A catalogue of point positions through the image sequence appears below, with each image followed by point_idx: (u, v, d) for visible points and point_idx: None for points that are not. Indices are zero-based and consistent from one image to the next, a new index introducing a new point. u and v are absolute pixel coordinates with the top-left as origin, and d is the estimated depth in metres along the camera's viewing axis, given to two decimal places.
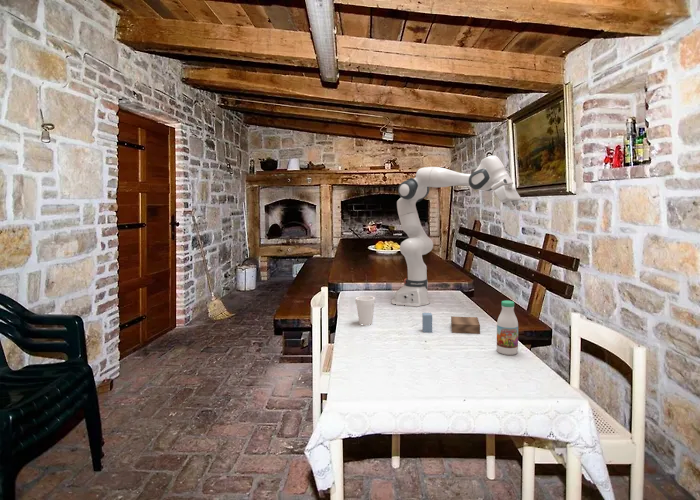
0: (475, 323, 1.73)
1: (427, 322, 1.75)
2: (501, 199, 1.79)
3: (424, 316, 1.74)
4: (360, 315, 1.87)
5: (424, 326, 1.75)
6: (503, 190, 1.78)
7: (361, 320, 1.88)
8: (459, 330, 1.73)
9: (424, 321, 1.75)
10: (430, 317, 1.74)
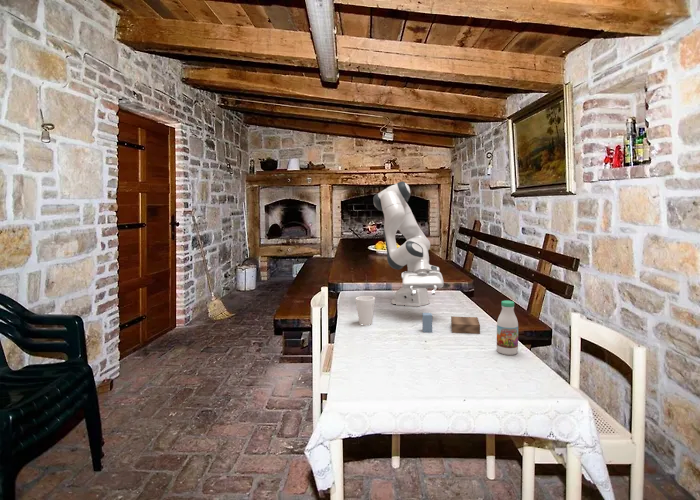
0: (475, 323, 1.73)
1: (427, 322, 1.75)
2: (443, 283, 1.90)
3: (424, 316, 1.74)
4: (360, 315, 1.87)
5: (424, 326, 1.75)
6: None
7: (361, 320, 1.88)
8: (459, 330, 1.73)
9: (424, 321, 1.75)
10: (430, 317, 1.74)
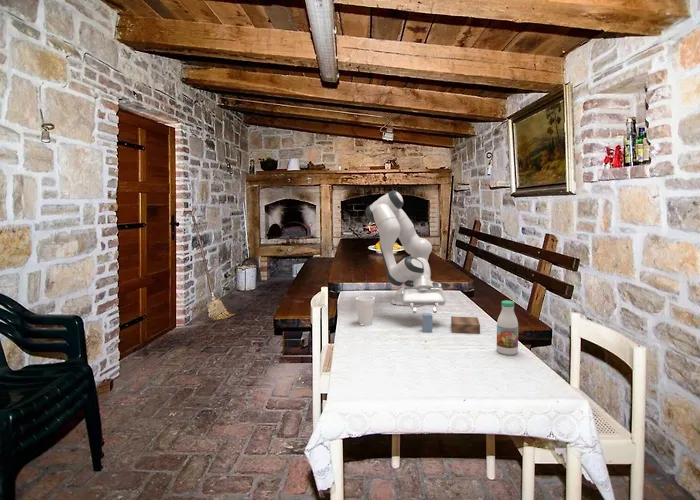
0: (475, 323, 1.73)
1: (427, 322, 1.75)
2: (445, 300, 1.82)
3: (424, 316, 1.74)
4: (360, 315, 1.87)
5: (424, 326, 1.75)
6: None
7: (361, 320, 1.88)
8: (459, 330, 1.73)
9: (424, 321, 1.75)
10: (430, 317, 1.74)
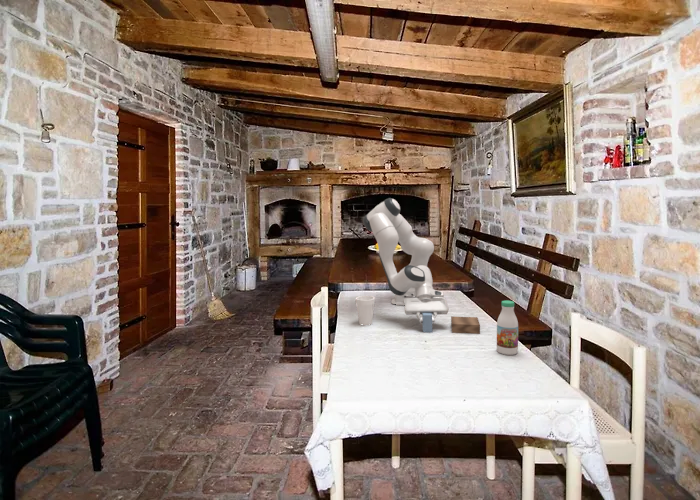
0: (475, 323, 1.73)
1: (427, 322, 1.75)
2: (448, 309, 1.78)
3: (424, 316, 1.74)
4: (360, 315, 1.87)
5: (424, 326, 1.75)
6: None
7: (361, 320, 1.88)
8: (459, 330, 1.73)
9: (424, 321, 1.75)
10: (430, 317, 1.74)
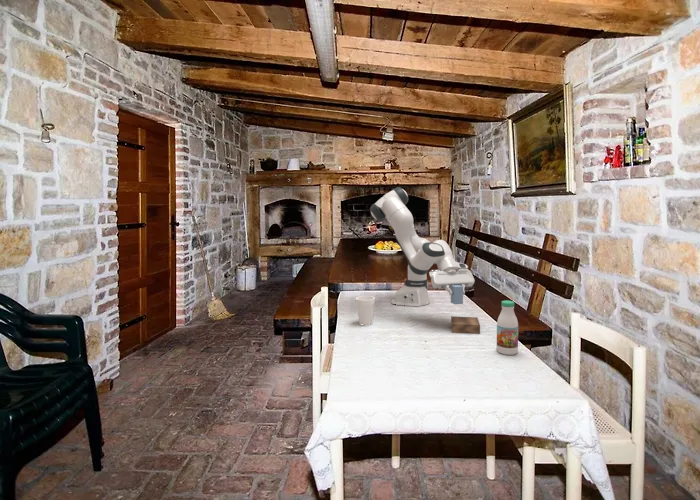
0: (475, 323, 1.73)
1: (458, 294, 1.73)
2: None
3: (456, 288, 1.73)
4: (360, 315, 1.87)
5: (455, 298, 1.73)
6: None
7: (361, 320, 1.88)
8: (459, 330, 1.73)
9: (455, 293, 1.73)
10: (462, 289, 1.73)
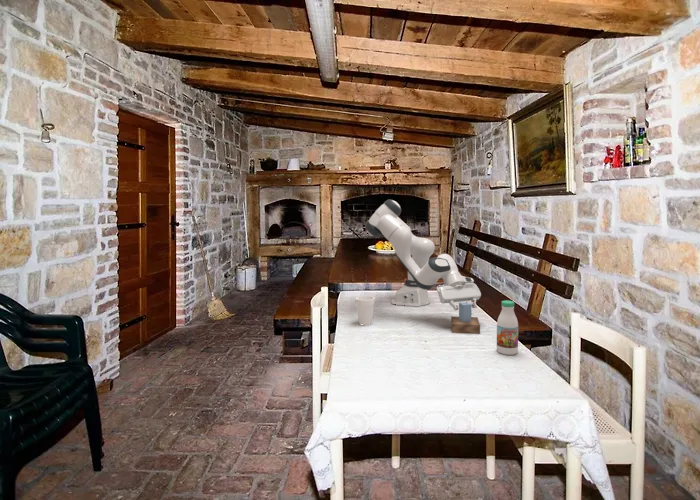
0: (475, 323, 1.73)
1: (467, 312, 1.75)
2: None
3: (464, 306, 1.74)
4: (360, 315, 1.87)
5: (464, 316, 1.75)
6: None
7: (361, 320, 1.88)
8: (459, 330, 1.73)
9: (464, 311, 1.75)
10: (470, 306, 1.75)
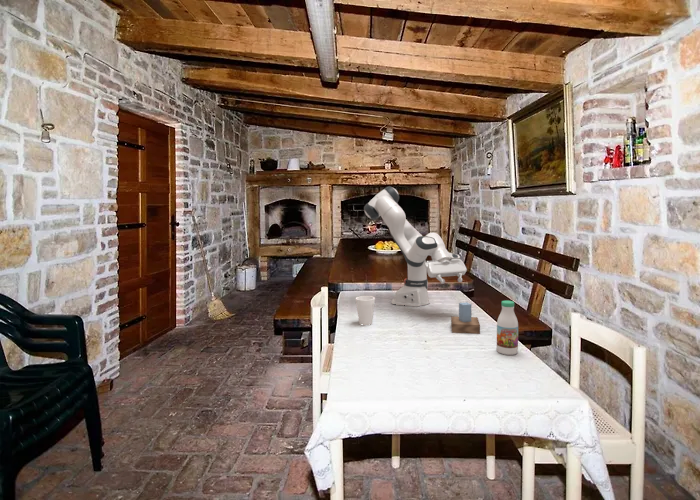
0: (475, 323, 1.73)
1: (467, 312, 1.75)
2: None
3: (464, 306, 1.74)
4: (360, 315, 1.87)
5: (464, 316, 1.75)
6: None
7: (361, 320, 1.88)
8: (459, 330, 1.73)
9: (464, 311, 1.75)
10: (470, 306, 1.75)
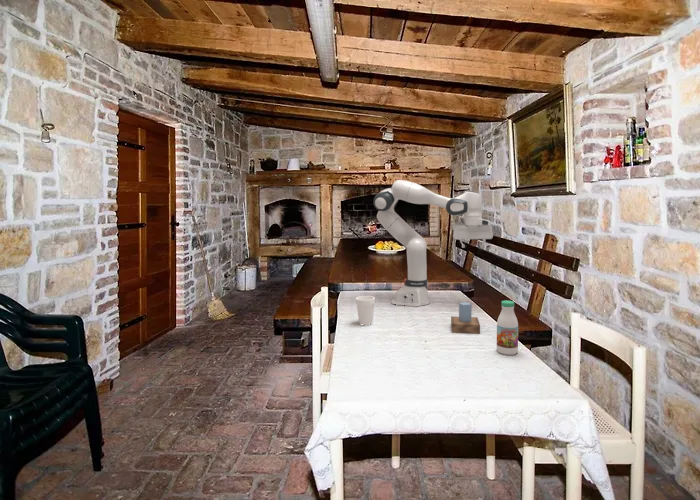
0: (475, 323, 1.73)
1: (467, 312, 1.75)
2: (492, 236, 2.02)
3: (464, 306, 1.74)
4: (360, 315, 1.87)
5: (464, 316, 1.75)
6: None
7: (361, 320, 1.88)
8: (459, 330, 1.73)
9: (464, 311, 1.75)
10: (470, 306, 1.75)
